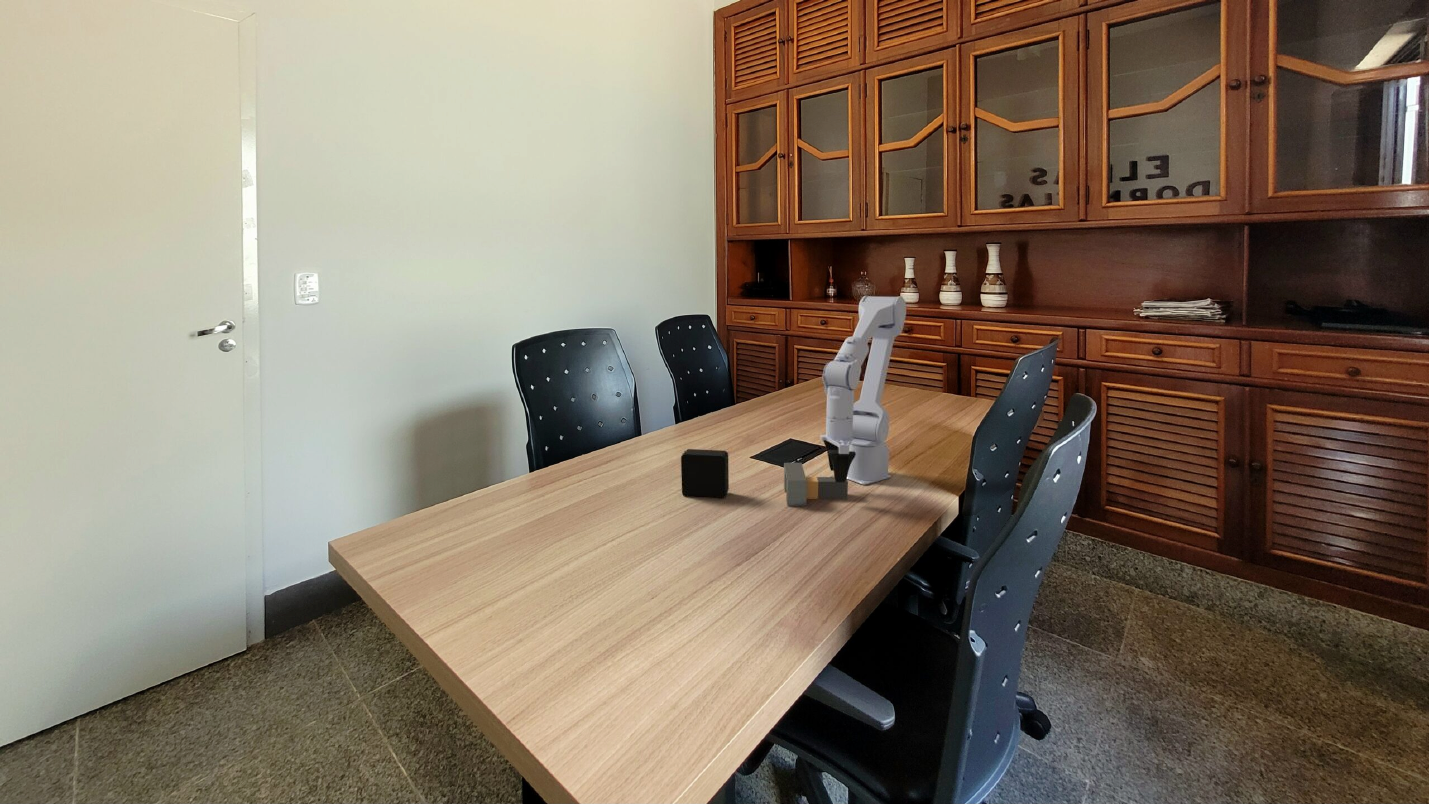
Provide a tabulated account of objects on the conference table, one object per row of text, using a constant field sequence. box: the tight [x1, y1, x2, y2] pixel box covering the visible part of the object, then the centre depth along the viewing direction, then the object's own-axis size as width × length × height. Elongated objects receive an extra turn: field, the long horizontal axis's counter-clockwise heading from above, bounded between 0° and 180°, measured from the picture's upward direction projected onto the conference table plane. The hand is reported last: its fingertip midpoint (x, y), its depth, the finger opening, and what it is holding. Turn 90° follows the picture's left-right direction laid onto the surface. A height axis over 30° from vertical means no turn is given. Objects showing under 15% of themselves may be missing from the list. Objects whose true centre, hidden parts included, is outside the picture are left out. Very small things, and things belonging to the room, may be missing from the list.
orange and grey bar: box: [806, 476, 849, 500], centre depth 136 cm, size 13×3×4 cm, turn 87°
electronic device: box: [680, 448, 730, 500], centre depth 137 cm, size 4×10×10 cm, turn 78°
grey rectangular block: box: [783, 462, 807, 507], centre depth 136 cm, size 4×12×6 cm, turn 177°
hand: (837, 475), depth 135 cm, fingers open, 7 cm apart
